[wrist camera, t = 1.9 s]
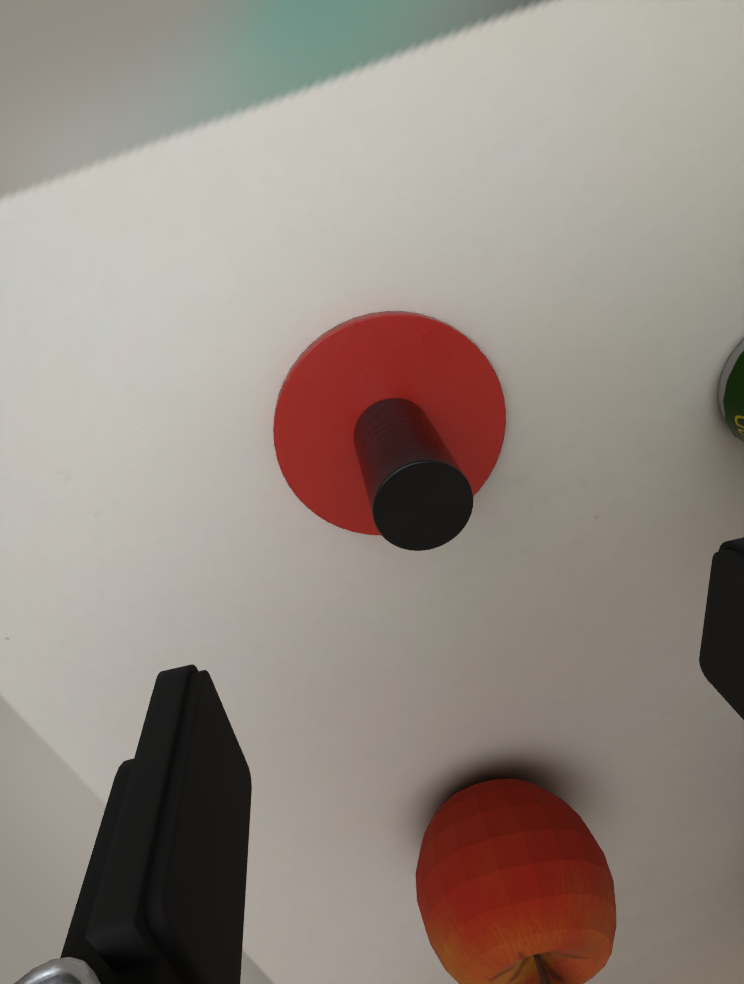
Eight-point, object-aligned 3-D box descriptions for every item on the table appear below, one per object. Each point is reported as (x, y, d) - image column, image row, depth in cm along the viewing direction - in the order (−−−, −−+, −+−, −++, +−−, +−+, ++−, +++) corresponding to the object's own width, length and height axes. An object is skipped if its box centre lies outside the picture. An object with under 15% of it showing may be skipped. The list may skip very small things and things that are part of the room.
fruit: (578, 733, 30) (699, 956, 21) (560, 842, 34) (653, 1065, 25) (399, 758, 29) (446, 1002, 20) (404, 867, 33) (444, 1106, 24)
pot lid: (408, 255, 18) (457, 275, 13) (542, 435, 22) (625, 511, 16) (223, 422, 20) (197, 503, 14) (375, 564, 23) (399, 672, 18)
